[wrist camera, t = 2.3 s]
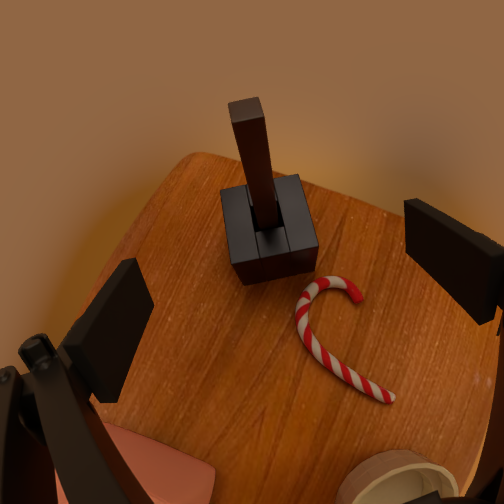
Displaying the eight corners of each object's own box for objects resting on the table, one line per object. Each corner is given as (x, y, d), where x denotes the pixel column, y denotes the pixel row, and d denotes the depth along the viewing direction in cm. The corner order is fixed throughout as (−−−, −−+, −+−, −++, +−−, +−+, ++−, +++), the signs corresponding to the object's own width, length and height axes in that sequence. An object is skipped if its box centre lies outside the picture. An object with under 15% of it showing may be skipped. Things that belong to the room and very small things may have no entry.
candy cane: (369, 424, 26) (276, 308, 31) (366, 423, 27) (276, 310, 32) (427, 371, 27) (336, 261, 32) (422, 372, 28) (335, 265, 33)
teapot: (67, 478, 27) (-12, 499, 14) (81, 395, 31) (-8, 393, 18) (231, 552, 23) (197, 625, 9) (261, 465, 27) (237, 526, 13)
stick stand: (298, 208, 36) (298, 173, 30) (314, 271, 33) (319, 246, 27) (232, 222, 36) (219, 189, 30) (243, 286, 34) (230, 264, 27)
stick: (278, 236, 35) (258, 95, 17) (282, 251, 34) (264, 116, 16) (262, 239, 35) (227, 102, 17) (265, 255, 35) (231, 123, 16)
